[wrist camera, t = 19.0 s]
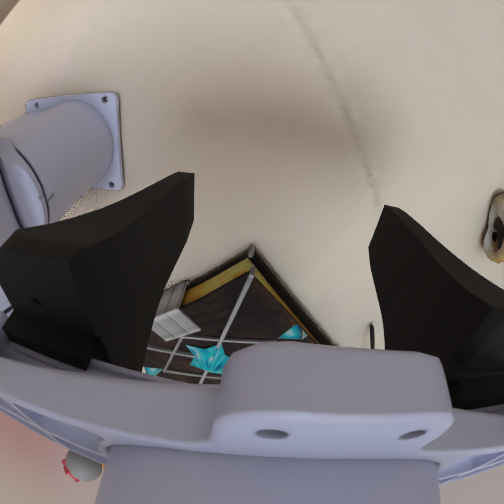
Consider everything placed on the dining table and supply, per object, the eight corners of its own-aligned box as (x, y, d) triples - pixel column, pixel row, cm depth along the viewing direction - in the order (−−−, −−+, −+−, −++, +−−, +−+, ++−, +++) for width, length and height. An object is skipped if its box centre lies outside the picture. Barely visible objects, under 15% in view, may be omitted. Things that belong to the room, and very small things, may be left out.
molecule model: (93, 462, 33) (61, 476, 30) (152, 507, 42) (127, 519, 39) (65, 369, 52) (42, 381, 49) (111, 428, 61) (91, 438, 58)
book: (196, 383, 42) (190, 413, 38) (106, 313, 34) (90, 346, 30) (340, 346, 33) (343, 385, 29) (258, 239, 25) (251, 283, 21)
